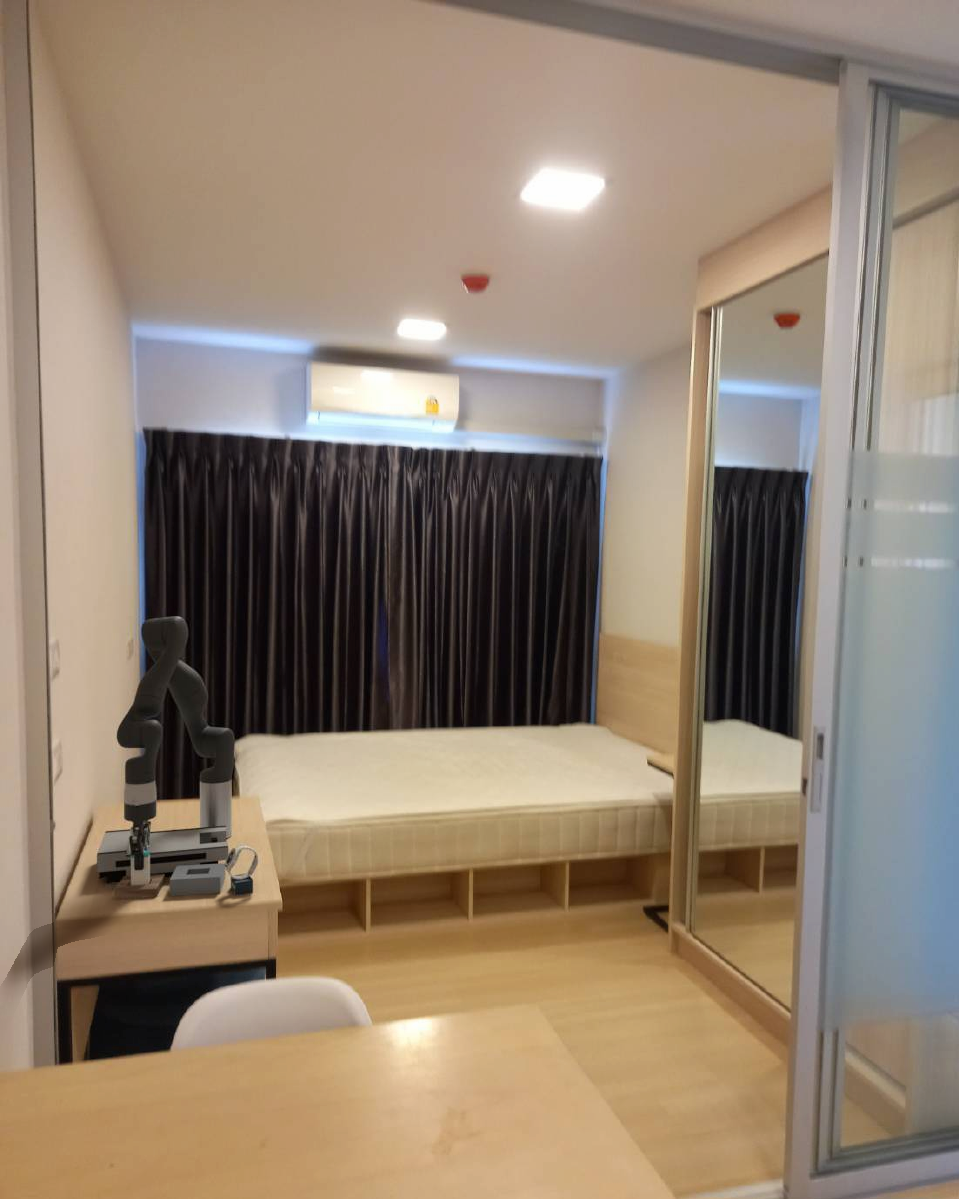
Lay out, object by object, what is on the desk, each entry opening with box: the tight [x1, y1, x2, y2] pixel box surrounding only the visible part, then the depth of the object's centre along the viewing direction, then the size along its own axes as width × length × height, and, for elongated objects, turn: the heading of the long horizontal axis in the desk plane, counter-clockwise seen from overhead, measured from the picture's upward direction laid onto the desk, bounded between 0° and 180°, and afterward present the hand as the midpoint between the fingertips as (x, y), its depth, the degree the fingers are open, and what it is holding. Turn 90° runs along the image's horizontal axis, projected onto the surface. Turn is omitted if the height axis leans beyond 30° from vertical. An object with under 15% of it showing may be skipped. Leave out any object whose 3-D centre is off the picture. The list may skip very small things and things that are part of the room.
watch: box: [224, 844, 259, 896], centre depth 206 cm, size 6×8×11 cm
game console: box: [96, 826, 229, 884], centre depth 223 cm, size 21×32×8 cm, turn 109°
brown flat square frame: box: [113, 874, 166, 900], centre depth 205 cm, size 10×10×2 cm
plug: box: [131, 850, 150, 885], centre depth 206 cm, size 3×4×8 cm, turn 101°
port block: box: [169, 862, 226, 897], centre depth 208 cm, size 10×12×4 cm
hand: (140, 867), depth 205 cm, fingers closed on plug, 2 cm apart
